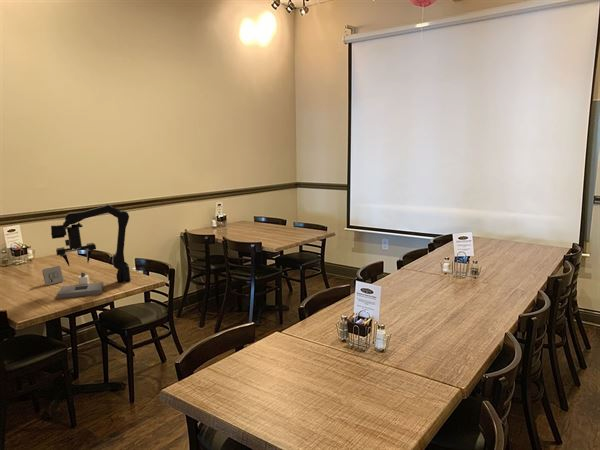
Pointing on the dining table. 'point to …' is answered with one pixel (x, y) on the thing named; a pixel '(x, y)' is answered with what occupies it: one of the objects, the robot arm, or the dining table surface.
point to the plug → (83, 279)
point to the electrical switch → (52, 275)
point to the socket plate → (80, 290)
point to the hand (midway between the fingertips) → (78, 264)
